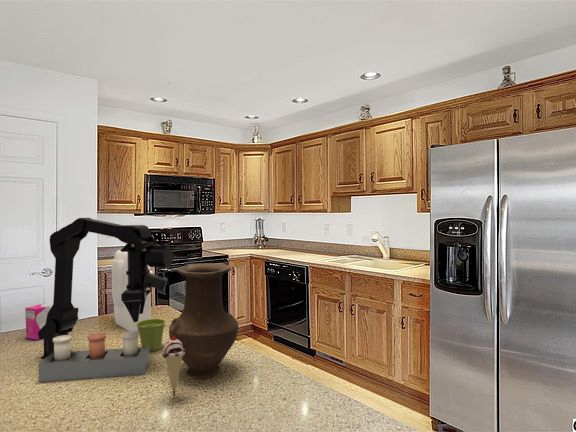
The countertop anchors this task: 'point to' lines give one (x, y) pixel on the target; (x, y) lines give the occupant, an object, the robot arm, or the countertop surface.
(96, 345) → the rust plug
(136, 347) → the ivory plug far
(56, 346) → the ivory plug near
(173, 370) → the ice cream cone
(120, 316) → the white plastic jug
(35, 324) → the supplement box
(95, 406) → the countertop surface
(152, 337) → the plant pot
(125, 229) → the robot arm
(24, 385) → the countertop surface
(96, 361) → the socket block
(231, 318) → the vase
